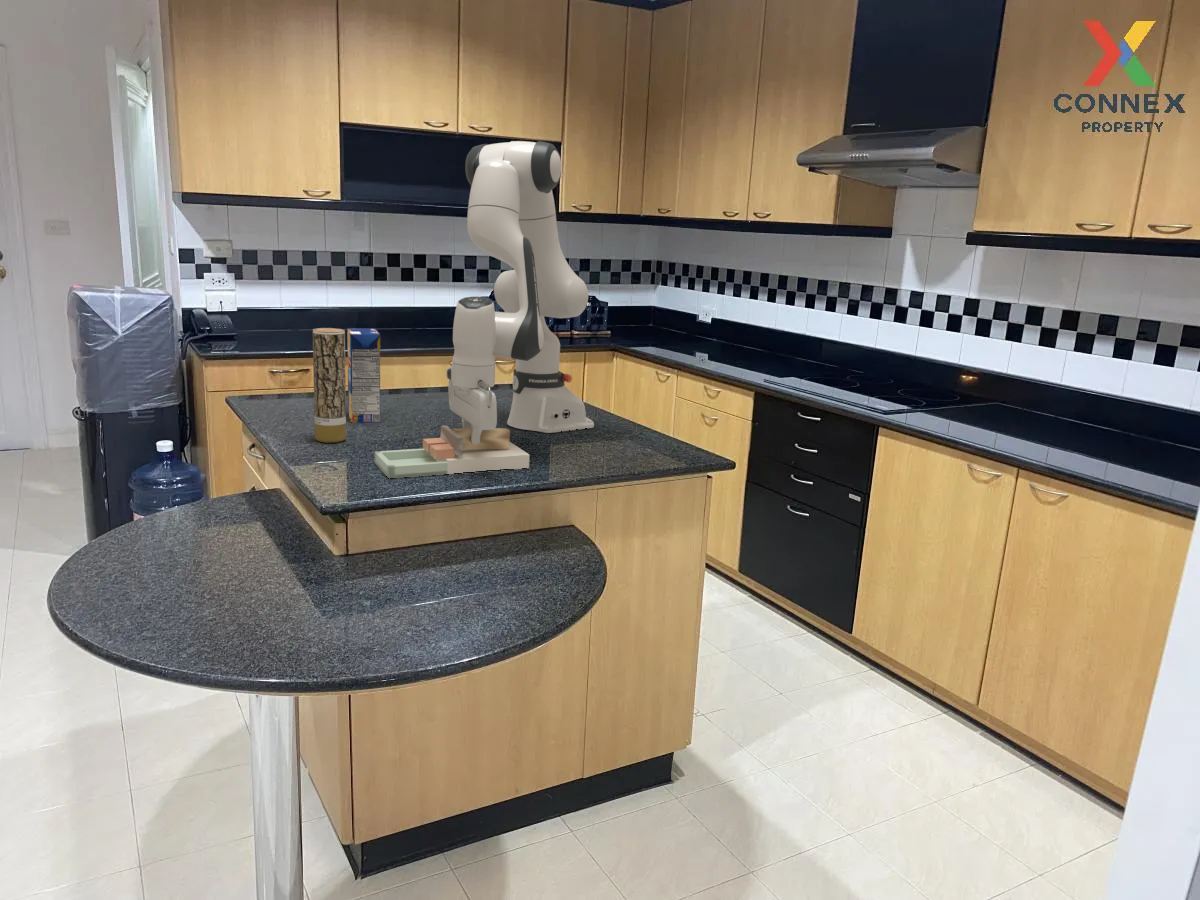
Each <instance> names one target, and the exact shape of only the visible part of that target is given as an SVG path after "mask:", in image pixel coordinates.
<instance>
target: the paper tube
mask: <svg viewBox="0 0 1200 900" xmlns="http://www.w3.org/2000/svg"><path fill="white" fill-rule="evenodd" d="M312 360H313V362H312V365H313V367H312V368H313V404H314V405H313V409H314V411H313V414H314V417H313V418H314V420H313V421H314V439H315V440H316V441H317V442H320V443H324V444H335V443H341V442H343V441H345V440H346V438H347V415H346V414H347V406H346V404H347V403H346V401H347V399H346V396H347V395H346V394H347V392H346V389H347V388H346V331H345V329H342V328H335V327H334V328H333V327H319V328H313V329H312Z"/></svg>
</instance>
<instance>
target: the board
mask: <svg viewBox="0 0 1200 900" xmlns="http://www.w3.org/2000/svg"><path fill="white" fill-rule="evenodd" d="M432 458H433V457H432ZM434 459H435V458H434ZM435 460H436V459H435ZM436 461H437V462H443V461H446V462H447V463H448V468H447V474H449V475H455V474H454V473H462V474H464V473H463V472H475V471H486V470H500V469H514V470H523V469H522V468H527V469H530V454H529V453H528V452H526V451H525V450H523V449H522V448H520V447H519V446H517V445H515V444H514V443H512V442H511V441H510V440H509V449H462V455H456V454H455V458H447V459H437V460H436ZM475 473H476V472H475Z"/></svg>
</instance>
